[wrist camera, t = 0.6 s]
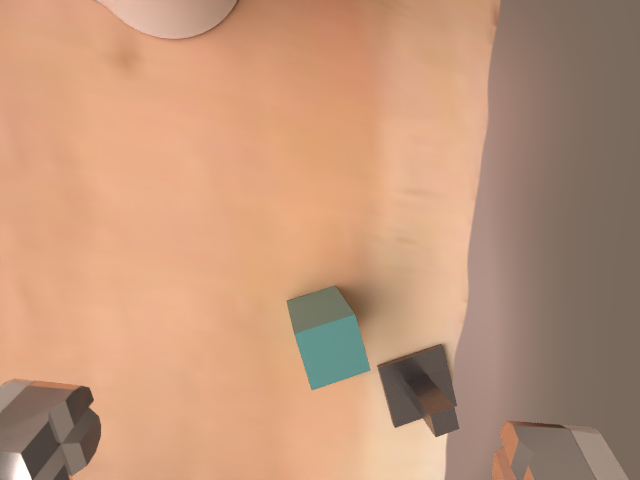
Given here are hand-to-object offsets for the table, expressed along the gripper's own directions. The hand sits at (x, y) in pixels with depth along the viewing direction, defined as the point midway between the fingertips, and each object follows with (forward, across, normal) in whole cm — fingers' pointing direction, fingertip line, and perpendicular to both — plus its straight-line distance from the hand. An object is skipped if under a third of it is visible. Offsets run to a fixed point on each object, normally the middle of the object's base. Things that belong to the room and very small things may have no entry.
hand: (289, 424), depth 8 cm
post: (+33, -9, +30) cm, 45 cm away
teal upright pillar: (+33, +3, +21) cm, 39 cm away
